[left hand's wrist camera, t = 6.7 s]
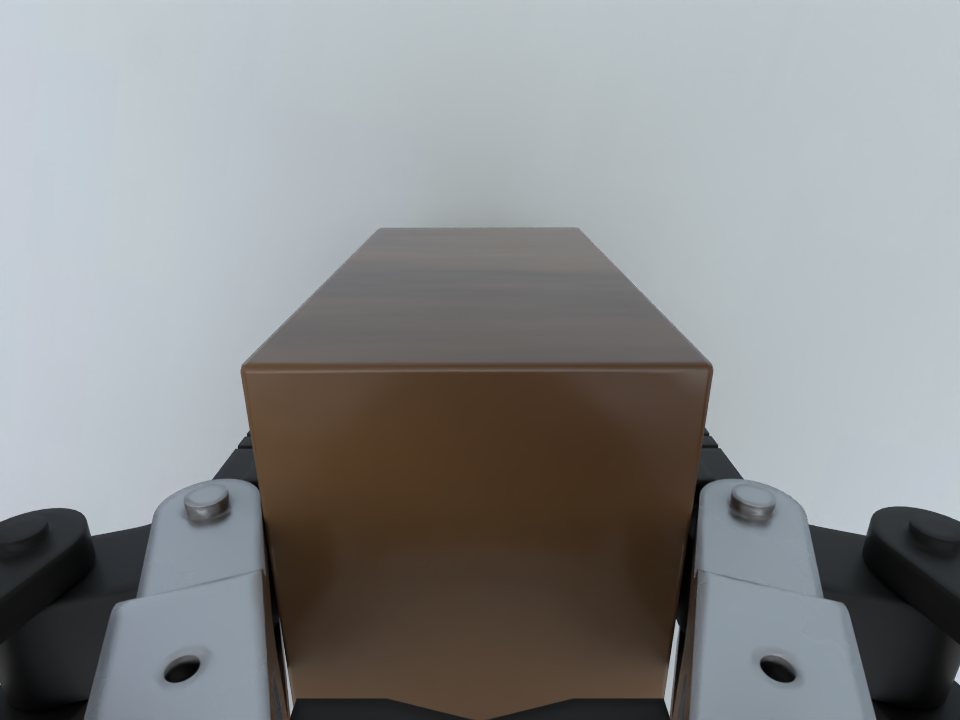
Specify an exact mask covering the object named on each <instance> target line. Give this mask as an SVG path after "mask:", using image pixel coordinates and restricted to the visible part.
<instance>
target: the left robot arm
mask: <svg viewBox="0 0 960 720" xmlns="http://www.w3.org/2000/svg"><path fill="white" fill-rule="evenodd" d="M676 619H677V622H678V624H679V632H678V638H677V646H676V657H675V668H674V678H673V689H672V699H671V710H670V717H669V714H668V711H667V708H666V705H665V701H664V698H573V699H569V700H565V701H561V702H557V703H553V704H548V705H544V706H540V707H536V708H532V709H528V710H524V711H520V712H516V713H512V714H508V715H504V716H500V717H496V718H492V719H487V720H960V685H959V684H958V683H957V682H956V681H954V679H955V676H956V674H957V671H958V668H959V666H960V522H959V521H957V520H955V519H952V518H950V517H947V516H945V515H942V514H939V513H936V512H932V511H928V510H924V509H918V508H912V507H887V508H883V509H880V510H878V511H876V512H875V513H874V514H873V516H872V518H871V521H870V524H869V528H868V531H867V535H866V536H865V535H859V534H854V533H849V532H844V531H838V530H833V529H828V528H823V527H818V526H813V525H809V524H808V520H807V516H806V513H805V511H804V509H803V508H802V506H801V505H800V504H799V503H798V502H797V501H796V500H794V499H793V498H792V497H791V496H789V495H787V494H786V493H784V492H782V491H780V490H778V489H776V488H774V487H771V486H769V485H766V484H763V483H759V482H755V481H750V480H744V479H743V478H742V476H741V475H740V474H739V472H738V471H737V470H736V468H735V467H734V466H733V464H732V463H731V462H730V460H729V459H728V458H727V456H726V455H725V454H724V452H723V451H722V450H721V448H718V444H717V443H716V442H715V440H714V439H713V438H712V436H709V432H708V431H707V430H706V428H705V429H704V435H703V442H702V449H701V455H700V462H699V469H698V475H697V482H696V489H695V495H694V502H693V508H692V515H691V522H690V528H689V535H688V542H687V548H686V555H685V562H684V568H683V575H682V582H681V588H680V595H679V602H678V608H677V615H676ZM0 684H1V685H0V720H473V719H468V718H464V717H460V716H456V715H452V714H448V713H444V712H440V711H436V710H432V709H428V708H424V707H420V706H416V705H412V704H407V703H403V702H399V701H395V700H391V699H387V698H296V701H295V705H294V708H293V711H292V714H291V717H290V710H289V699H288V689H287V678H286V668H285V657H284V646H283V638H282V632H281V625H280V618H279V611H278V605H277V599H276V592H275V586H274V580H273V573H272V567H271V561H270V554H269V548H268V542H267V535H266V529H265V523H264V516H263V510H262V504H261V497H260V491H259V485H258V478H257V472H256V466H255V459H254V453H253V447H252V440H251V434H250V431H249V432H248V433H247V437H244V439H243V440H242V441H241V443H240V444H239V445H238V449H235V450H234V452H233V453H232V454H231V456H230V457H229V458H228V460H227V461H226V462H225V464H224V465H223V466H222V468H221V469H220V470H219V471H218V473H217V474H216V475H215V477H214V478H213V479H212V480H210V481H205V482H201V483H197V484H194V485H191V486H189V487H186V488H184V489H182V490H180V491H178V492H176V493H174V494H173V495H171V496H169V497H168V498H167V499H166V500H164V501H163V502H162V503H161V504H160V505H159V506H158V508H157V509H156V511H155V513H154V516H153V520H152V524H149V525H146V526H141V527H137V528H132V529H127V530H122V531H117V532H111V533H106V534H101V535H95V536H91V534H90V531H89V527H88V524H87V520H86V518H85V516H84V515H83V514H82V513H80V512H78V511H76V510H72V509H66V508H51V509H42V510H37V511H32V512H28V513H24V514H21V515H18V516H15V517H12V518H9V519H7V520H4V521H2V522H0Z"/></svg>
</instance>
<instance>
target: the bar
mask: <svg viewBox="0 0 960 720" xmlns="http://www.w3.org/2000/svg"><path fill="white" fill-rule="evenodd" d="M712 376H713V367H712V364H711V363H710V362H709V361H708V360H707V359H706V358H705V357H704V356H703V355H702V354H701V353H700V352H699V351H698V349H697V348H696V347H695V346H694V345H693V344H692V343H691V342H690V341H689V340H688V339H687V338H686V337H685V336H684V335H683V334H682V333H681V332H680V331H679V330H678V329H677V328H676V327H675V326H674V325H673V324H672V323H671V322H670V321H669V320H668V319H667V318H666V317H665V316H664V315H663V314H662V313H661V312H660V311H659V310H658V309H657V308H656V307H655V306H654V305H653V304H652V303H651V302H650V301H649V300H648V299H647V298H646V297H645V296H644V295H643V294H642V292H641V291H640V290H639V289H638V288H637V287H636V286H635V285H634V284H633V283H632V282H631V281H630V280H629V279H628V278H627V277H626V276H625V275H624V274H623V273H622V272H621V271H620V270H619V269H618V268H617V267H616V266H615V265H614V264H613V263H612V262H611V261H610V260H609V259H608V258H607V257H606V256H605V255H604V254H603V253H602V252H601V251H600V250H599V249H598V248H597V247H596V246H595V245H594V244H593V243H592V242H591V241H590V240H589V239H588V238H587V237H586V236H585V234H584V233H583V232H582V231H581V230H580V229H578V228H380V229H378V230H377V231H376V232H375V233H374V234H373V235H372V236H371V237H370V238H369V239H368V240H367V241H366V242H365V243H364V244H363V245H362V246H361V247H360V248H359V249H358V250H357V251H356V252H355V253H354V254H353V255H352V256H351V257H350V258H349V259H348V260H347V261H346V262H345V263H344V264H343V265H342V266H341V267H340V268H339V269H338V270H337V271H336V272H335V273H334V274H333V275H332V276H331V277H330V278H329V279H328V280H327V281H326V282H325V283H324V284H323V285H322V286H321V287H320V288H319V289H318V290H317V291H316V292H315V293H314V294H313V295H312V296H311V297H310V298H309V299H308V300H307V301H306V302H305V303H304V304H303V305H302V306H301V307H300V308H299V309H298V310H297V311H296V312H295V313H294V314H293V315H292V316H291V317H290V318H289V319H288V320H287V321H286V322H285V323H284V324H283V325H282V326H281V327H280V328H279V329H278V330H277V331H275V332H274V333H273V334H272V335H271V336H270V337H269V338H268V339H267V340H266V341H265V342H264V343H263V344H262V345H261V346H260V347H259V348H258V349H257V350H256V351H255V352H254V353H253V354H252V355H251V356H250V357H249V358H248V359H247V360H246V361H245V362H244V363H243V364H242V367H241V377H242V383H243V390H244V396H245V402H246V409H247V415H248V421H249V428H250V434H251V440H252V447H253V453H254V459H255V466H256V472H257V478H258V485H259V491H260V497H261V504H262V510H263V516H264V523H265V529H266V535H267V542H268V548H269V554H270V561H271V567H272V573H273V580H274V586H275V592H276V599H277V605H278V611H279V618H280V624H281V630H282V636H283V643H284V649H285V655H286V662H287V668H288V674H289V681H290V687H291V693H292V700H293V706H294V705H295V701H296V698H387V699H391V700H395V701H399V702H403V703H407V704H412V705H416V706H420V707H424V708H428V709H432V710H436V711H440V712H444V713H448V714H452V715H456V716H460V717H464V718H468V719H473V720H487V719H492V718H496V717H500V716H504V715H508V714H512V713H516V712H520V711H524V710H528V709H532V708H536V707H540V706H544V705H548V704H553V703H557V702H561V701H565V700H569V699H573V698H664V695H665V688H666V681H667V675H668V668H669V661H670V655H671V648H672V641H673V635H674V628H675V621H676V615H677V608H678V602H679V595H680V588H681V582H682V575H683V568H684V562H685V555H686V548H687V542H688V535H689V528H690V522H691V515H692V508H693V502H694V495H695V489H696V482H697V475H698V469H699V462H700V455H701V449H702V442H703V435H704V429H705V422H706V415H707V409H708V402H709V395H710V389H711V382H712Z"/></svg>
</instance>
